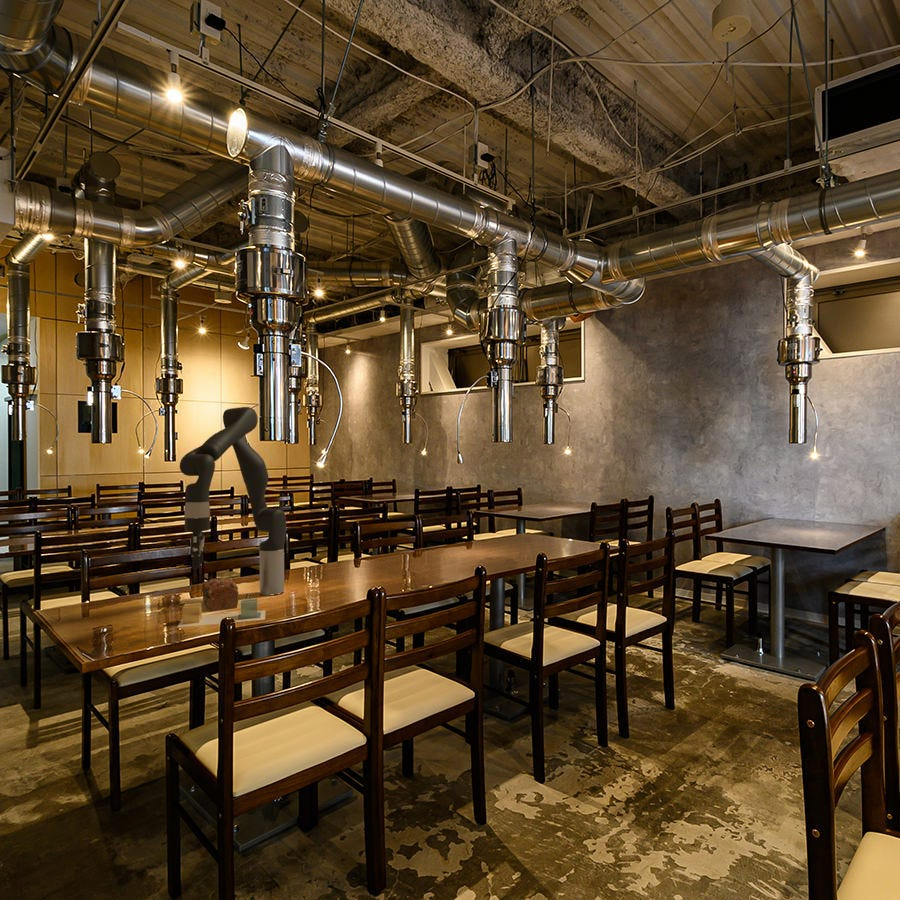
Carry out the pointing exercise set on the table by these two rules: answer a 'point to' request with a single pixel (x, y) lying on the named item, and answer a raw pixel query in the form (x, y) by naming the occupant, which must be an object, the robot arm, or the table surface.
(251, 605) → the green block
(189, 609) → the ochre block
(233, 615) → the blueprint board
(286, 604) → the table surface
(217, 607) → the bread
